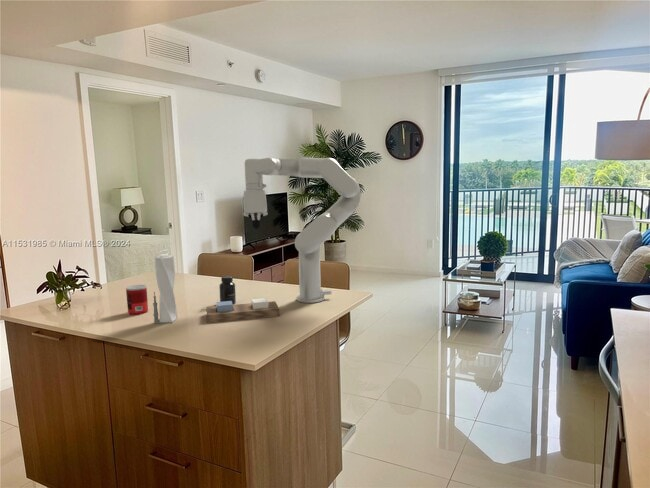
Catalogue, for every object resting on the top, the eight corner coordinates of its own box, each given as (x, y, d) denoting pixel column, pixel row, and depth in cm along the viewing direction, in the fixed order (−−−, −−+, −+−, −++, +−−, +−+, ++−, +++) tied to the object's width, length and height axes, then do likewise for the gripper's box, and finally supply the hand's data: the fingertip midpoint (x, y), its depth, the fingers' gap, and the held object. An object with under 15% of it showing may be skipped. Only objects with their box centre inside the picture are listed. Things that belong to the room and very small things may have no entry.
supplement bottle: (232, 306, 206) (230, 278, 205) (217, 305, 208) (216, 278, 206) (238, 301, 213) (237, 275, 211) (224, 301, 214) (222, 275, 213)
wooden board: (275, 308, 201) (275, 301, 201) (279, 316, 190) (279, 308, 189) (207, 314, 195) (206, 307, 194) (207, 322, 183) (206, 315, 183)
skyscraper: (161, 318, 192) (156, 249, 188) (181, 317, 192) (176, 248, 188) (153, 324, 183) (148, 252, 179) (174, 324, 183) (169, 252, 179)
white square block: (266, 305, 197) (266, 298, 197) (268, 309, 191) (268, 301, 191) (252, 306, 196) (251, 299, 195) (253, 310, 190) (253, 302, 190)
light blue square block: (232, 308, 194) (231, 300, 193) (232, 312, 188) (232, 304, 188) (217, 309, 192) (216, 302, 192) (217, 313, 187) (216, 305, 186)
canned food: (152, 310, 202) (150, 285, 201) (139, 315, 195) (137, 289, 193) (137, 309, 205) (135, 284, 203) (124, 314, 197) (121, 288, 196)
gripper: (270, 186, 215) (271, 227, 217) (236, 187, 211) (238, 228, 214) (272, 187, 207) (274, 229, 210) (237, 188, 204) (239, 230, 207)
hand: (256, 228), depth 212 cm, fingers closed
